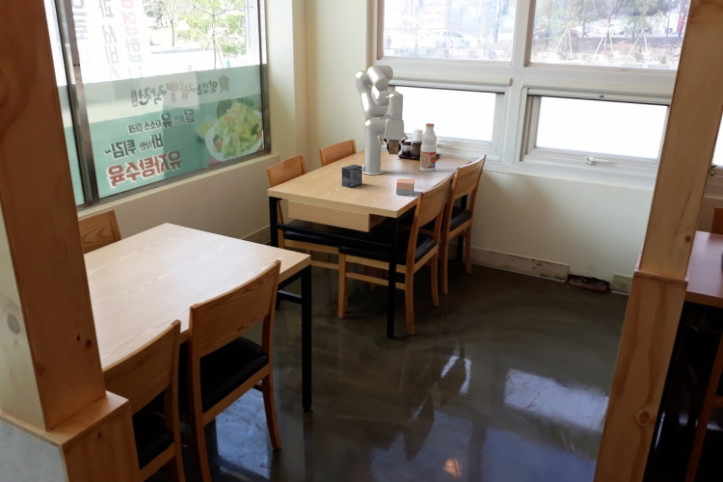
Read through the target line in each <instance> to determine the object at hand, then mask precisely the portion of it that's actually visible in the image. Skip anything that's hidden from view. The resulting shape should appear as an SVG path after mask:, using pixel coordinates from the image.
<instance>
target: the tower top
mask: <svg viewBox="0 0 723 482" xmlns="http://www.w3.org/2000/svg"><path fill="white" fill-rule="evenodd" d="M396 180H397V181H396V185H395V186H396V188H395V189H401V190H414V191H415V184H416V182H415V181H416V180H415V179H413V178H397V179H396Z"/></svg>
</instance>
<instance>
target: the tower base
mask: <svg viewBox="0 0 723 482" xmlns="http://www.w3.org/2000/svg"><path fill="white" fill-rule="evenodd" d="M395 189H396V188H395ZM395 191H396V192H395V195H396V194H399V195H398V196H408V195H413V194H414V193H415V189H414V190H401V189H396V190H395ZM413 196H414V195H413Z"/></svg>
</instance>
